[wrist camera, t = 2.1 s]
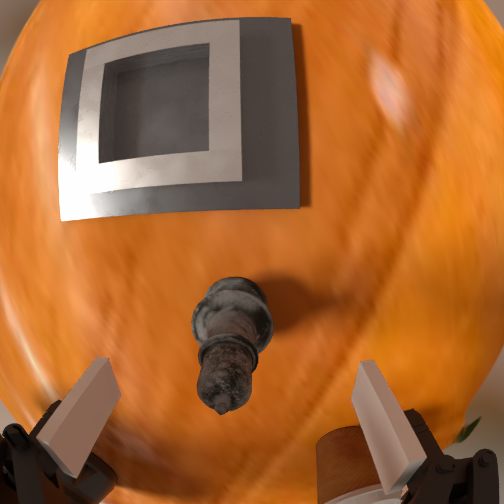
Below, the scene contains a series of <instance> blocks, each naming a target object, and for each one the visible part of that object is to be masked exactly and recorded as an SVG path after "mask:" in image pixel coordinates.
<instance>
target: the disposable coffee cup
mask: <svg viewBox="0 0 504 504" xmlns="http://www.w3.org/2000/svg"><path fill="white" fill-rule="evenodd" d="M316 456H317V490H318V504H400V503H401V500H400V499H401V493H402V490H400V491H397V492H394V493H390V494H387V495H385V493H384V490H383V487H382V484H381V481H380V478H379V475H378V472H377V469H376V466H375V464H374V461H373V458H372V455H371V452H370V449H369V447H368V444H367V441H366V438H365V436H364V433H363V431H362V429H360V428H357V427H345V428H340V429H337V430H334V431H332V432H330V433H328V434H326V435H325V436H323V437H322V438H321V439H320V440H319V441H318V443H317V445H316Z"/></svg>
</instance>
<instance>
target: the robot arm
mask: <svg viewBox="0 0 504 504" xmlns="http://www.w3.org/2000/svg"><path fill="white" fill-rule="evenodd" d="M120 397H121V392H120V390H119V387H118V384H117V382H116V379H115V376H114V373H113V370H112V367H111V364H110V361H109V358H103V357H96V359H95V360H94V361H93V362H92V364H91V365H90V366H89V367H88V369H87V370H86V371H85V372H84V374H83V375H82V376H81V378H80V379H79V380H78V381H77V383H76V384H75V385H74V387H73V388H72V389H71V390H70V392H69V393H68V394H67V396H66V397H65V398H64V400H63V401H61V400H58V401H56V402H55V403H53V404H52V405H51V406H50V407H49V408H48V410H47V411H46V413H45V414H44V415H43V418H41V419H40V420H39V422H38V423H37V424H36V426H35V427H34V428H33V430H32V431H31V432H30V434H29V435H28V434H27V432H26V431H25V430H24V428H23V427H22V426H21V425H20V424H17V423H16V424H15V423H13V424H10V425H8V426H6V427H5V429H4V430H3V434H2V435H3V436H4V438H3V437H2V436H1V434H0V504H99V503H100V502H101V501H102V500H103V499H104V498H105V497H106V496H107V495H108V494H109V493H110V492H111V491H112V490H113V489H114V487H115V484H116V482H117V476H116V474H115V473H114V472H113V470H112V469H111V468H110V467H109V466H108V465H107V464H105V463H104V462H103V461H102V460H101V459H99V458H98V457H97V456H95V455H94V454H92V453H91V450H92V448H93V446H94V444H95V442H96V440H97V439H98V437H99V435H100V433H101V431H102V429H103V427H104V426H105V424H106V422H107V420H108V418H109V416H110V415H111V413H112V411H113V409H114V407H115V406H116V404H117V402H118V400H119V399H120ZM351 401H352V404H353V406H354V409H355V412H356V414H357V417H358V419H359V422H360V425H361V428H362V430H363V433H364V436H365V438H366V441H367V444H368V447H369V449H370V452H371V455H372V458H373V461H374V464H375V466H376V469H377V472H378V475H379V478H380V481H381V484H382V487H383V490H384V493H385V495H387V494H390V493H394V492H397V491H400V490H402V489H403V487H404V486H405V485H406V484H407V487H408V489H409V490H408V491H407V492H406V493H405V494H404V495H403V496H402V498H401V499H400V500H403V501H402V503H401V504H499V477H498V464H497V457H496V454H495V453H494V452H493V451H491V450H489V449H482V450H479V451H478V452H477V453H476V454H475V455H474V456H473V457H471V458H465V459H454V458H453V457H452V456H449V455H444V454H443V452H442V451H441V449H440V447H439V445H438V444H437V442H436V440H435V438H434V437H433V435H432V433H431V431H429V428H428V426H427V425H426V424H425V421H424V419H423V418H422V416H421V415H420V414H419V413H418V412H416V411H415V410H414V409H410V410H406V411H403V410H402V409H401V407H400V405H399V403H398V401H397V400H396V398H395V396H394V394H393V392H392V391H391V389H390V387H389V385H388V384H387V382H386V380H385V378H384V377H383V375H382V373H381V372H380V370H379V368H378V366H377V365H376V363H375V361H374V360H368V361H360V364H359V368H358V373H357V377H356V381H355V385H354V389H353V393H352V397H351Z"/></svg>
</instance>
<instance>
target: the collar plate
mask: <svg viewBox="0 0 504 504" xmlns="http://www.w3.org/2000/svg"><path fill="white" fill-rule="evenodd" d="M58 167H59V196H60V211H61V221H66V220H76V219H86V218H97V217H109V216H122V215H135V214H150V213H167V212H186V211H209V210H240V209H300V167H299V131H298V108H297V90H296V74H295V60H294V47H293V36H292V25H291V18H277V17H243V18H224V19H212V20H202V21H194V22H187V23H180V24H174V25H168V26H163V27H158V28H153V29H149V30H144V31H140V32H136V33H132V34H129V35H125V36H121V37H118V38H115V39H111V40H108V41H105V42H102V43H99V44H96V45H93V46H91V47H88V48H85V49H82V50H80V51H77V52H75V53H72V54H70V55H69V58H68V63H67V69H66V74H65V81H64V88H63V95H62V104H61V115H60V128H59V158H58Z"/></svg>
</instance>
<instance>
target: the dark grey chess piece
mask: <svg viewBox="0 0 504 504" xmlns="http://www.w3.org/2000/svg"><path fill="white" fill-rule="evenodd" d="M191 323H192V332H193V334H194V337H195V339H196V341H197V342H198V344H199V345H200V346H201V347H200V349H199V353H198V360H199V363H200V366H201V371H200V374H199V378H198V382H197V392H198V396H199V398H200V399H201V400H202V401H203V402H204V404H205V405H207V406H208V407H210V408H212V409H214V410H215V411H216V412H217V413H218V414H219V415H223V414H225V413H227V412H228V411H233V410H236V409H238V408H240V407H241V406H243V405H244V404H246V402H247V401H248V400H249V398H250V395H251V392H252V373H253V372H254V370H255V369H256V367H257V364H258V354H259V353H260V352H261V351H263V350H264V349H265V348H266V346H267V345H268V344H269V342H270V340H271V338H272V335H273V328H274V323H273V319H272V315H271V313H270V311H269V309H268V308H267V301H266V297H265V295H264V293H263V292H262V290H261V289H260V288H259V287H258V286H257V285H256V284H255V283H253V282H251V281H250V280H248V279H244V278H241V277H228V278H224V279H221V280H219V281H217V282H215V283H214V284H213V285H212V286H211V287H210V288H209V289H208V291H207V293H206V294H205V297H204V299H203V300H202V301H201V302H200V303H199V304H198V305H197V307H196V309H195V310H194V312H193V316H192V321H191Z"/></svg>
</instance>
